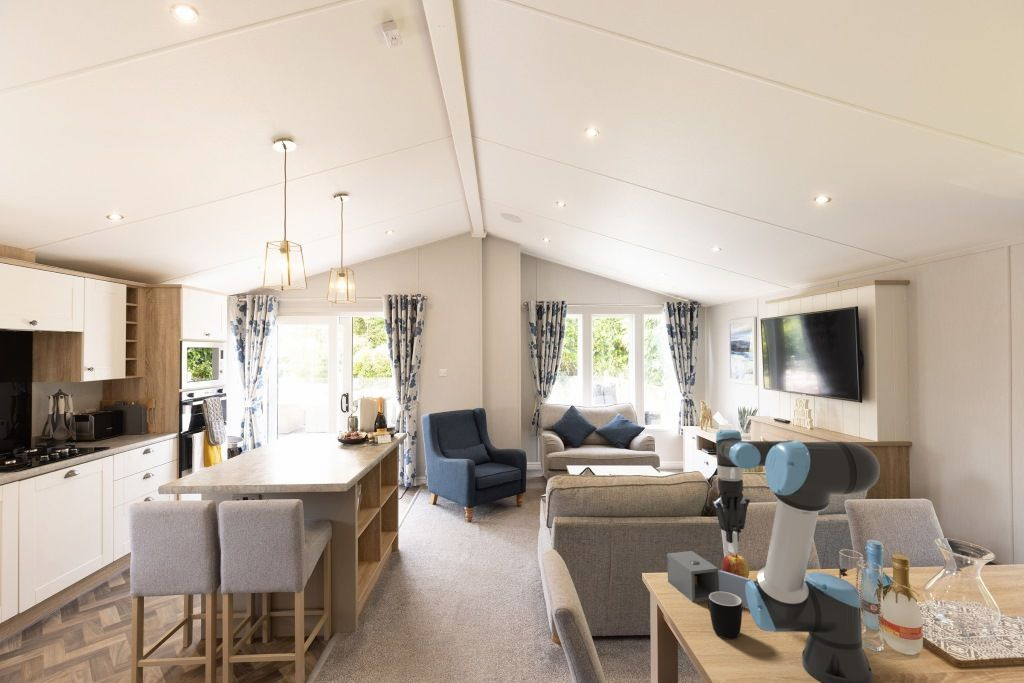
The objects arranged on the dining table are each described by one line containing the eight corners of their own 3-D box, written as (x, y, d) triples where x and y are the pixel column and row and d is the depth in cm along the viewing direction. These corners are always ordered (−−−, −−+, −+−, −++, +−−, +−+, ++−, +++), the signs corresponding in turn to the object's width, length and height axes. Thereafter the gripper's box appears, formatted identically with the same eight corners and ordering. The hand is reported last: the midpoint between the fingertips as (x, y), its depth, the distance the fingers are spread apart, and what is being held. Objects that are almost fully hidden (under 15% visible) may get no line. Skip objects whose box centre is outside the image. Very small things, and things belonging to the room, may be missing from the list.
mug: (750, 639, 143) (748, 603, 144) (723, 644, 141) (722, 607, 141) (722, 618, 155) (720, 585, 155) (697, 623, 153) (696, 589, 153)
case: (719, 598, 168) (718, 567, 168) (692, 602, 166) (691, 570, 166) (692, 578, 184) (691, 550, 184) (667, 581, 182) (666, 553, 182)
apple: (722, 576, 185) (721, 548, 186) (748, 579, 182) (747, 551, 182) (723, 586, 177) (722, 557, 177) (751, 590, 174) (750, 560, 174)
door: (720, 596, 168) (719, 569, 169) (752, 607, 161) (751, 578, 161) (718, 597, 167) (717, 570, 168) (750, 608, 160) (749, 580, 160)
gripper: (738, 474, 168) (741, 545, 167) (705, 477, 164) (708, 550, 163) (755, 479, 161) (758, 553, 159) (721, 482, 157) (724, 559, 156)
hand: (733, 552), depth 161 cm, fingers closed
